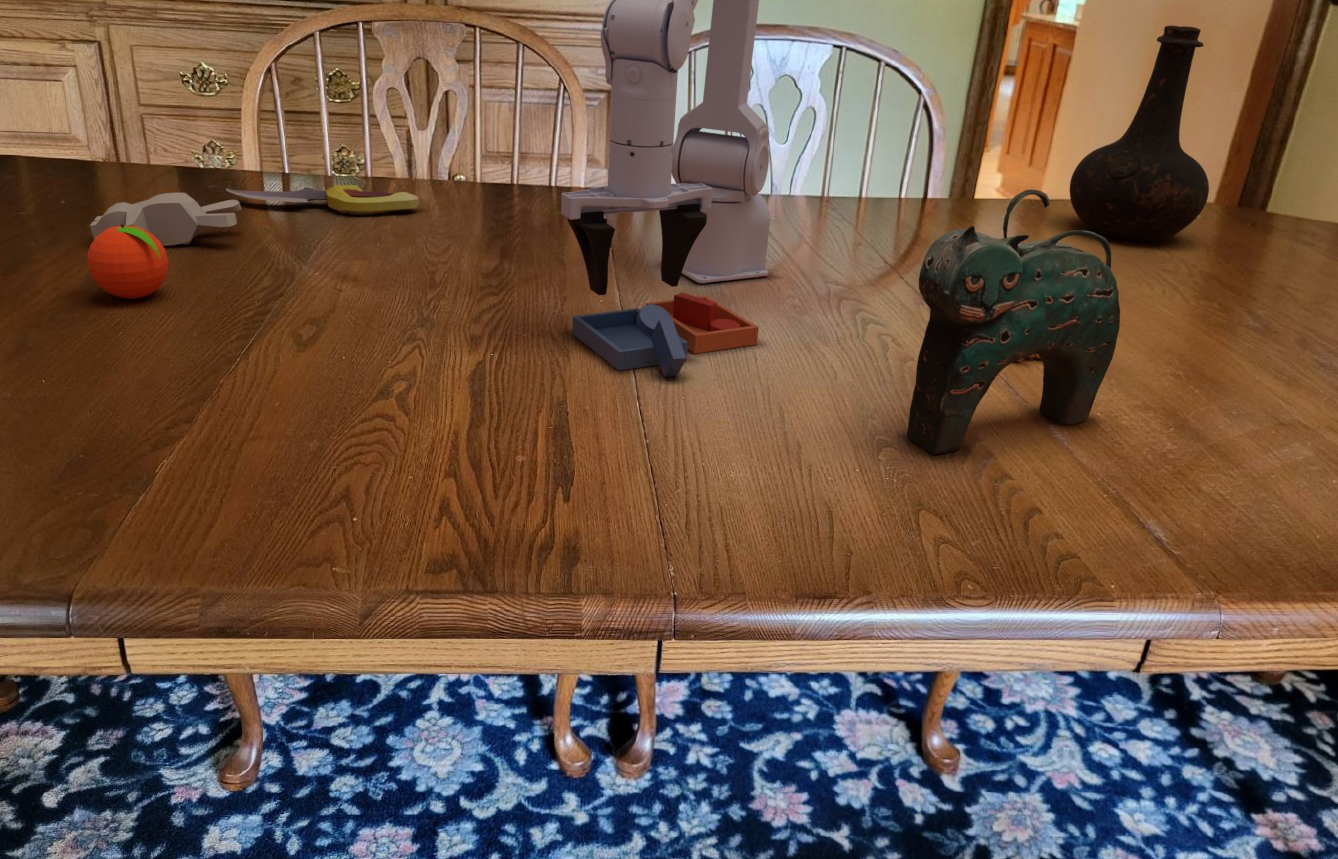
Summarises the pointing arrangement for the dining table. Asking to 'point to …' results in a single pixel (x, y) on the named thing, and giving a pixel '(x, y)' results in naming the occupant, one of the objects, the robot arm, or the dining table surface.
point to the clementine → (127, 262)
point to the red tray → (713, 340)
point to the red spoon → (700, 313)
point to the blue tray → (618, 338)
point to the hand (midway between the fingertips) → (634, 287)
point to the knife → (341, 198)
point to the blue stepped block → (662, 338)
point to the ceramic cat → (1010, 326)
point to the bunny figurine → (168, 217)
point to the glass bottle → (1147, 159)
